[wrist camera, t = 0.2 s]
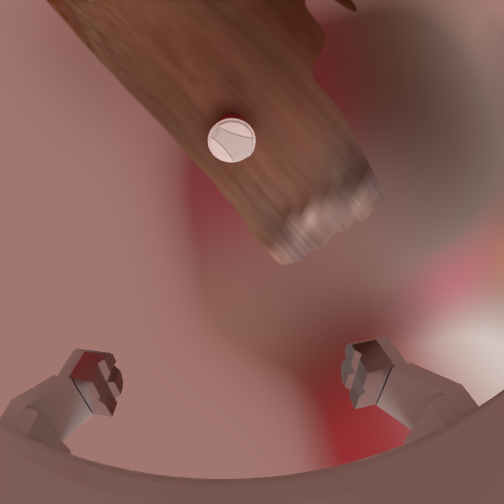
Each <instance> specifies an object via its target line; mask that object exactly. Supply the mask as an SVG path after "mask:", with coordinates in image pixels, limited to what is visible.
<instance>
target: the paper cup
mask: <svg viewBox="0 0 504 504" xmlns="http://www.w3.org/2000/svg"><path fill="white" fill-rule="evenodd" d="M208 146H209V149H210V151H211V152H212V154H213V155H214V156H215V157H216V158H218V159H220V160H222V161H225V162H238V161H241V160H243V159H245V158H246V157H248V156H250V155H251V153H252V152H253V150H254V148H255V134H254V131H253V129H252V128H251V127H250V125H249V124H247V123H246V122H245V121H244V119H243V118H242V117H241V116H240V115H238V114H235V113H228V114H225V115H224V116H222V117H221V118H220V119H219V121H218V122H217V123H216V124H215V125H214V126H213V127H212V129H211V130H210V132H209V135H208Z"/></svg>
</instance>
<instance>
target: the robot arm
mask: <svg viewBox="0 0 504 504" xmlns="http://www.w3.org/2000/svg"><path fill="white" fill-rule="evenodd" d="M345 354H346V356H347V358H346V359H345V360H344V362H343V364H342V369H341V375H342V380H343V383H344V385H345V387H347V388H348V389H350V390H351V391H350V394H349V397H350V399H351V401H352V403H353V406H354V408H355V409H357V408H361V407H366V406H370V405H374V404H377V406H379V407H380V408H382V409H383V410H384V411H385V412H387V413H388V414H390V415H391V416H393V417H394V418H395V419H397V420H398V421H400V422H401V423H403V424H404V425H405V426H407V427H408V428H410V429H411V430H412V431H411V432H410V434H409V435H408V437H407V438H406V439H405V441H404V444H405V445H402V446H400V447H397V448H394V449H392V450H389V451H386V452H383V453H380V454H377V455H374V456H371V457H368V458H364V459H361V460H357V461H354V462H351V463H346V464H342V465H338V466H334V467H329V468H325V469H320V470H315V471H309V472H303V473H298V474H290V475H282V476H274V477H262V478H247V479H200V478H184V477H173V476H164V475H156V474H150V473H143V472H138V471H132V470H127V469H122V468H118V467H113V466H109V465H105V464H101V463H98V462H94V461H90V460H87V459H84V458H81V457H78V456H74V455H72V454H71V451H70V449H69V448H68V447H67V446H66V445H65V444H64V443H63V441H64V440H65V439H66V438H67V437H68V436H69V435H71V433H73V432H74V431H75V430H76V429H77V428H78V427H79V426H81V425H82V423H84V422H85V421H86V420H87V419H88V418H89V417H91V416H92V413H94V414H99V415H106V416H111V417H112V416H113V413H114V411H115V408H116V405H117V402H116V399H115V398H116V397H118V396H119V395H120V394H121V391H122V388H123V379H122V375H121V372H120V370H119V369H118V368H116V367H115V366H114V365H115V363H116V360H115V358H114V356H113V354H111V353H106V352H99V351H92V350H83V349H75V350H74V351H73V353H72V354H71V356H70V357H69V359H68V360H67V362H66V363H65V365H64V366H63V368H62V369H61V371H60V373H59V374H58V376H56V375H54V376H52V377H50V378H49V379H47V380H45V381H43V382H42V383H40V384H38V385H36V386H35V387H33V388H31V389H29V390H28V391H26V392H24V393H22V394H20V395H19V396H17V397H15V398H13V399H12V400H11V402H10V403H9V405H8V406H7V408H6V410H5V411H4V413H3V415H2V416H1V418H0V504H504V390H503V391H501V392H500V393H499V394H497V395H496V396H494V397H493V398H492V399H490V400H488V401H487V402H485V403H484V404H482V405H481V406H478V405H477V404H476V402H475V401H474V400H473V399H472V397H471V396H470V395H469V393H468V392H467V391H466V389H465V388H464V387H463V386H462V385H461V384H459V383H456V382H454V381H452V380H449V379H447V378H445V377H443V376H440V375H438V374H435V373H433V372H431V371H429V370H427V369H424V368H422V367H420V366H417V365H415V364H413V363H407V362H406V360H405V359H404V358H403V357H402V355H401V354H400V352H399V351H398V350H397V348H396V347H395V346H394V345H393V343H392V342H391V341H390V339H389V338H388V337H381V338H377V339H373V340H368V341H363V342H357V343H352V344H348V345H347V347H346V350H345Z"/></svg>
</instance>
